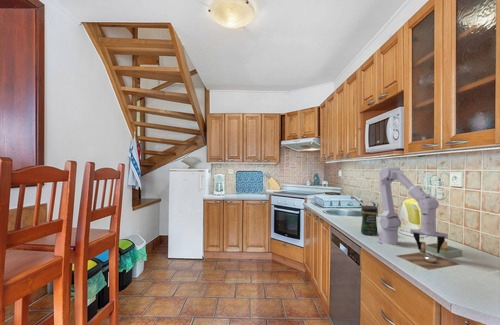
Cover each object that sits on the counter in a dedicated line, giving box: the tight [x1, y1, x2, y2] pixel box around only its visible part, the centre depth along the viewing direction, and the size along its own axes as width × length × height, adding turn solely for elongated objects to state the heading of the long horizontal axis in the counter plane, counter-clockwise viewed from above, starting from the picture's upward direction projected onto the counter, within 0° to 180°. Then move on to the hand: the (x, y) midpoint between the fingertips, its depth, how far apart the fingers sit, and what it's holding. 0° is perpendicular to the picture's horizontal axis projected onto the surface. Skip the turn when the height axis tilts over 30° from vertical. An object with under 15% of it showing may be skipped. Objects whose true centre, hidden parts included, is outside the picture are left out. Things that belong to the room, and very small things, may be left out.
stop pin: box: [440, 240, 448, 252], centre depth 119 cm, size 4×4×6 cm
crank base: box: [396, 251, 461, 271], centre depth 110 cm, size 16×20×1 cm
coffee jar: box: [360, 205, 379, 236], centre depth 155 cm, size 10×8×19 cm
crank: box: [419, 241, 436, 263], centre depth 111 cm, size 11×4×6 cm, turn 164°
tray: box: [426, 242, 463, 259], centre depth 119 cm, size 11×11×4 cm
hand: (428, 250), depth 114 cm, fingers open, 7 cm apart
